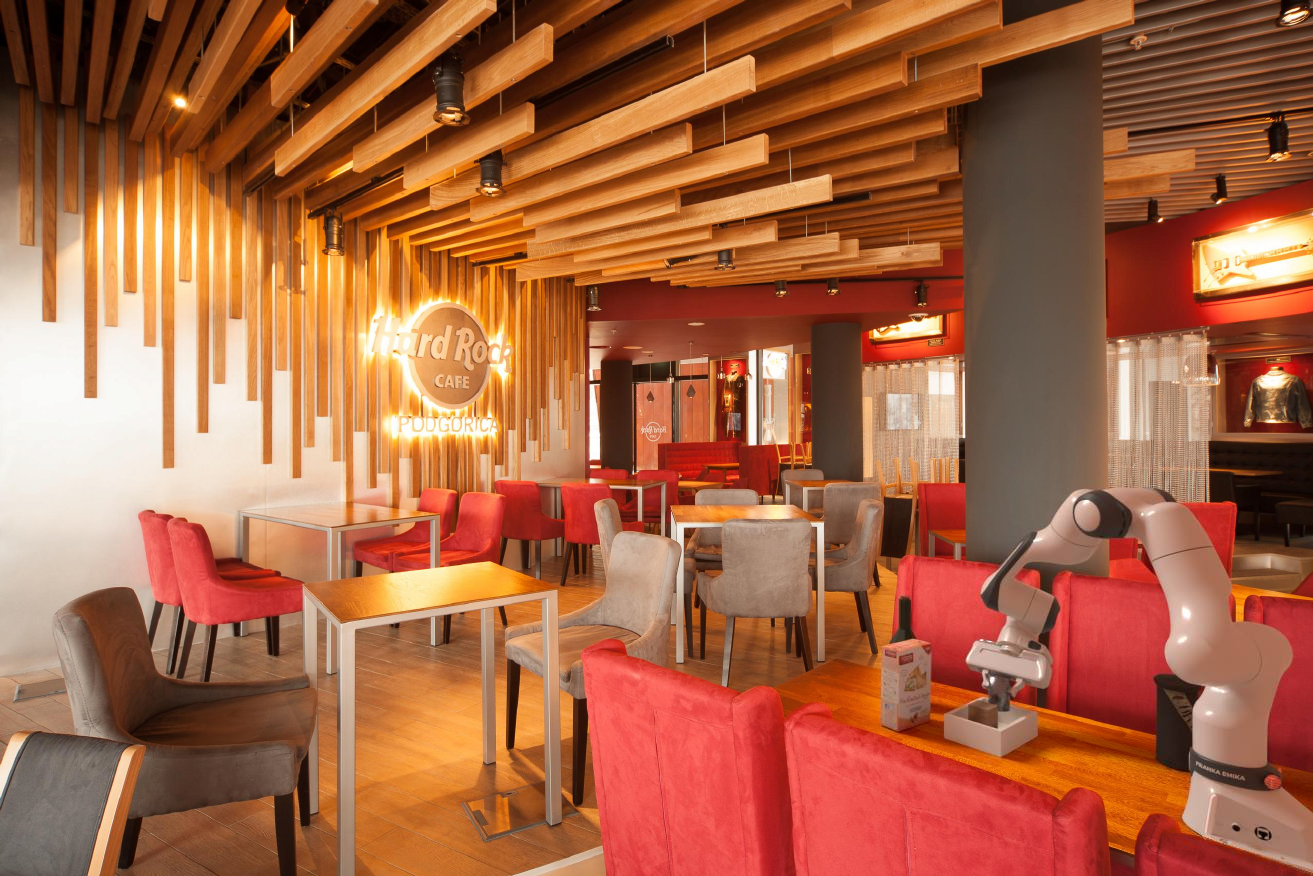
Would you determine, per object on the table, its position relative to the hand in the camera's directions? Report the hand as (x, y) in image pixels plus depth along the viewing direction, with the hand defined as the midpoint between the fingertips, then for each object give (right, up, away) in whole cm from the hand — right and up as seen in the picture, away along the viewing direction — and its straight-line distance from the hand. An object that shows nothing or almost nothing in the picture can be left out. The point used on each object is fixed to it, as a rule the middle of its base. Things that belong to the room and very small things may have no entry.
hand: (997, 691), depth 180 cm
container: (+33, -11, -17) cm, 39 cm away
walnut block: (-6, -9, -6) cm, 13 cm away
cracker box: (-21, -11, +6) cm, 25 cm away
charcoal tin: (0, -4, 0) cm, 4 cm away
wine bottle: (-16, -11, +21) cm, 29 cm away
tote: (-3, -10, -3) cm, 11 cm away
